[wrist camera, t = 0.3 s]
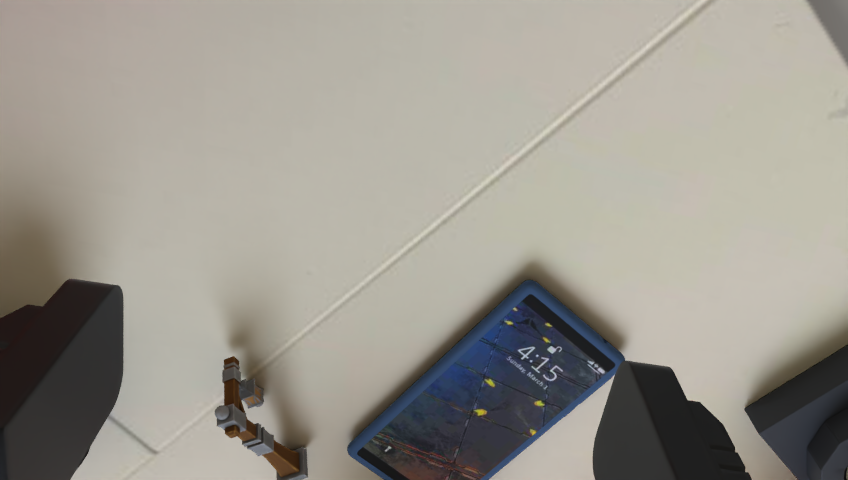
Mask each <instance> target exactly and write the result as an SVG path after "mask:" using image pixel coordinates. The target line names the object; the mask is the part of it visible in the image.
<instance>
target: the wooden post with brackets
mask: <svg viewBox="0 0 848 480" xmlns="http://www.w3.org/2000/svg"><path fill="white" fill-rule="evenodd" d="M223 383H224V405H223V406H219V407H217V409H216V410H215V416H216V417H217V426H218V427H221V428H222V429H224V430H225V434H226V435H227V436H229V437H230V438H233V437H236V436H238V437H239V438H240V439H242V445H244V446H247V449H250V450H252V451H253V452H255V453H256V454H257V455H258V456H260V455H262V456H264V457H265V458H266V459H267V460H268V461H269V462H270V463H271V465H272V466H273V467H274V468H275V469H276V470H277V480H302V479H305V478H308V468H307V449H304V448H303V447H302V448H299V449H296V450H293V451H292V450H290V449H288V448H286V447H285V446H283V445H281V444H279V443H277V442H276V441H275V440H274V437H273V435H271V434H269V433H268V432H267V431H266V430H265V429H264V427H262V428H261V425H260V424H259V423H257V424H253V423H252V422H250V421H249V420H247V417H246V413H245V411H244V408H243V405H242V402H241V400H243V401H244V402H245V403H246V404H247V406H248V408H251V407H254V406H256V407H259V406H261V405H262V404H263V402H264V399H263V389H260V388H258V387H257V386H256V385H255V379H252V380H249V381H246V379H245V380H242V381H241V372H240V371H239V361H238V360H237V359H236V358H235V357H234V356H233V357H230V358H228V359H225V360H224V370H223Z"/></svg>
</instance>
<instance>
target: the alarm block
mask: <svg viewBox="0 0 848 480" xmlns="http://www.w3.org/2000/svg"><path fill="white" fill-rule="evenodd" d="M745 411H746V413H747V415H748V416H749V418H750V420H751V421H752V423H753V425H754V427H755V428H756V430H757V432H758V433H759V435H760V436H761V437H762V438H763V439H764V440H765V442H766V443H767V444H768V445H769V446H770V447H771V448H772V450H773V451H774V452H775V453H776V454H777V455H778V457H779V458H780V459H781V460H782V461H783V462H784V464H785V465H786V466H787V467H788V468H789V469H790V470H791V472H792V473H793V474H794V475H795V476H796V477H797V479H798V480H847V478H846V472H847V468H848V345H847V346H845V347H844V348H842V349H840V350H839V351H837V352H836V353H834V354H832V355H831V356H829V357H827V358H826V359H824V360H823V361H821V362H819V363H818V364H816V365H815V366H813V367H811V368H810V369H808V370H806V371H805V372H803V373H802V374H800V375H798V376H797V377H795V378H793V379H792V380H790V381H789V382H787V383H785V384H784V385H782V386H781V387H779V388H777V389H776V390H774V391H772V392H771V393H769V394H768V395H766V396H764V397H763V398H761V399H759V400H758V401H756V402H755V403H753V404H751V405H750V406H748V407H746V408H745Z"/></svg>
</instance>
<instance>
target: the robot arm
mask: <svg viewBox="0 0 848 480" xmlns="http://www.w3.org/2000/svg"><path fill="white" fill-rule="evenodd" d="M122 376H123V293H122V289H121V288H120V286H118V285H111V284H104V283H97V282H90V281H84V280H77V279H69V280H67V281H66V282H65V283H64V284H63V285H62V286H61V287H60V288H59V289H58V290H57V292H56V293H55V294H54V295H53V296H52V297H51V298H50V299H49V300H48V302H47V303H46V304H45V305H44V306H43V307H41V306H34V305H26V306H24V307H22V308H20V309H18V310H16V311H14V312H12V313H10V314H8V315H6V316H4V317H2V318H0V480H70V479H71V477H72V476H73V474H74V472H75V471H76V469H77V467H78V466H79V464H80V462H81V461H82V459H83V457H84V456H85V454H86V452H87V451H88V449H89V447H90V446H91V444H92V442H93V441H94V439H95V437H96V436H97V434H98V432H99V431H100V429H101V427H102V426H103V424H104V422H105V421H106V419H107V417H108V416H109V414H110V412H111V411H112V409H113V407H114V405H115V403H116V400H117V397H118V394H119V391H120V387H121V382H122ZM593 472H594V477H595V480H752V479H751V477H750V475H749V473H747V472H745V466H744V464H743V462H742V460H741V458H740V456H739V454H738V453H736V452H735V447H734V445H733V443H732V441H731V439H730V437H729V435H728V433H727V431H726V429H725V428H724V426H723V424H722V423H721V422H720V421H719V420H718V419H717V418H716V417H715V416H714V415H713V414H711V413H710V412H709V411H708V410H707V409H706V408H705V407H704V406H703V405H702V404H701V403H700V402H695V401H688V400H687V398H686V396H685V394H684V392H683V390H682V388H681V386H680V384H679V382H678V380H677V378H676V376H675V374H674V372H673V370H672V369H671V368H670V367H666V366H659V365H652V364H645V363H638V362H632V361H623V362H622V363H621V364H620V365H619V367H618V369H617V371H616V374H615V377H614V380H613V383H612V386H611V390H610V393H609V396H608V399H607V402H606V405H605V408H604V412H603V415H602V418H601V421H600V424H599V427H598V430H597V434H596V437H595V442H594V448H593Z"/></svg>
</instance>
